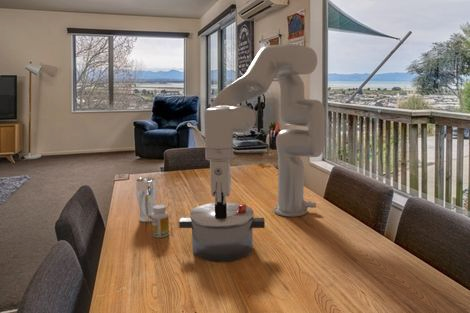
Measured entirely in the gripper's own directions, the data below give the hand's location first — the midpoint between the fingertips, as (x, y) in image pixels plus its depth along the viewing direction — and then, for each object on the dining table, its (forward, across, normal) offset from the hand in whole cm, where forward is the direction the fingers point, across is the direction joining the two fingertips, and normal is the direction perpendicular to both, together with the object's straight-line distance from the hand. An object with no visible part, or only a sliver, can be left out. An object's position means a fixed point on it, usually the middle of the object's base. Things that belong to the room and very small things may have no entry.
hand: (220, 217), depth 105 cm
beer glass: (+12, +29, +29) cm, 43 cm away
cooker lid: (+2, +5, 0) cm, 5 cm away
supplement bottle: (+12, +15, +21) cm, 28 cm away
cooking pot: (+12, +5, 0) cm, 13 cm away
